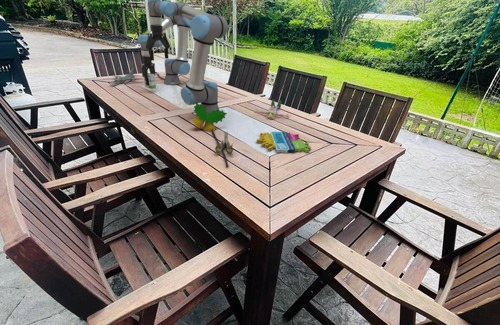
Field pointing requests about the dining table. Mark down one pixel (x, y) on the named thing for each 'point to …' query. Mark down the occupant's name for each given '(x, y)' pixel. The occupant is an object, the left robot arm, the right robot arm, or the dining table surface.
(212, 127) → the ornament
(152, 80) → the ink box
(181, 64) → the left robot arm
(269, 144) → the colourful gloves pack
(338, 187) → the dining table surface
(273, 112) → the toy
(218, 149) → the jawbone
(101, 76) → the dining table surface
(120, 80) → the airplane
